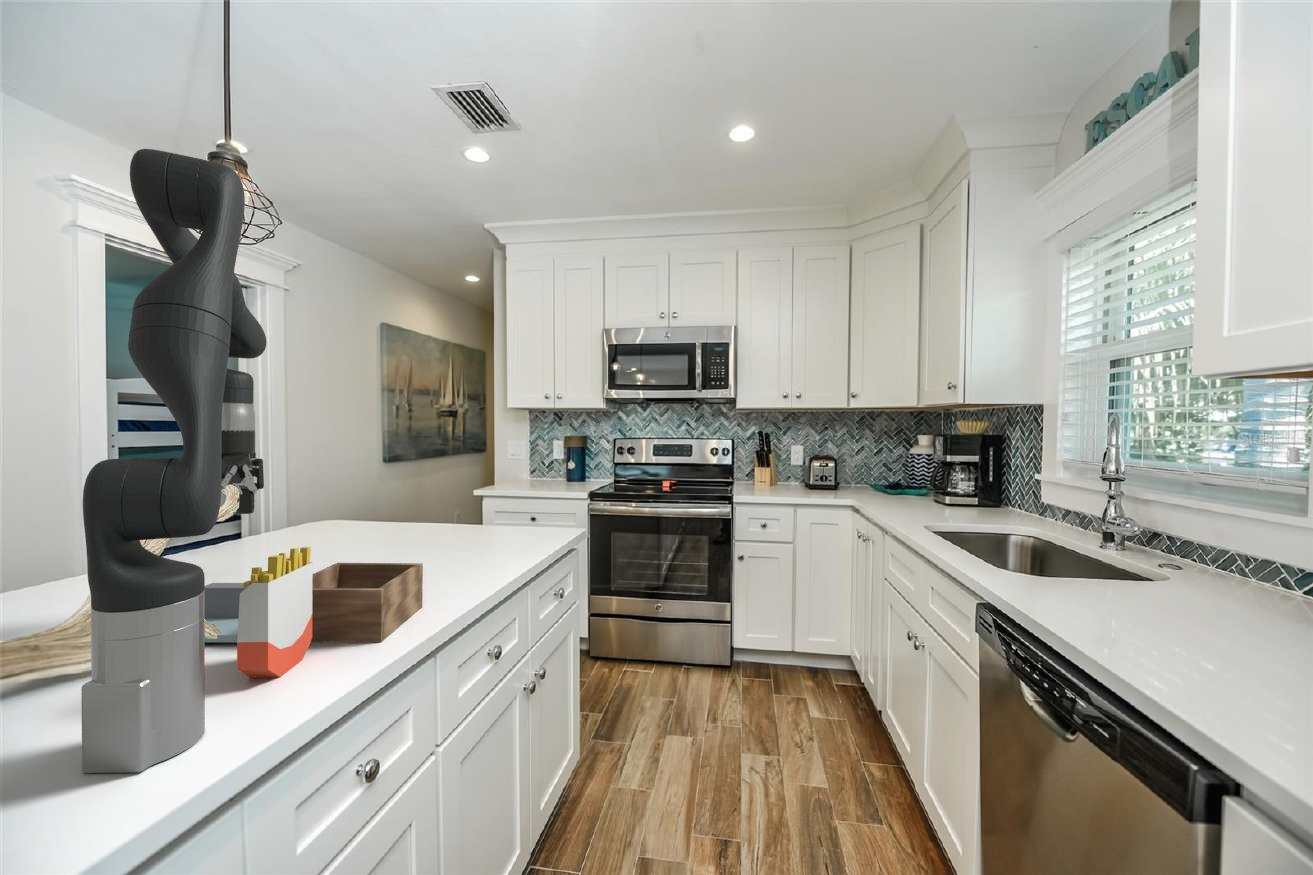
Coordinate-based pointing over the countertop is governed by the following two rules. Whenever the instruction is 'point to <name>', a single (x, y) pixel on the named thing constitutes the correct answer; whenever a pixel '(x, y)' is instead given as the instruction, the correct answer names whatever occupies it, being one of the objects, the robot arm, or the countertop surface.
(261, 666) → the french fries container
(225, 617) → the lid
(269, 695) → the countertop surface
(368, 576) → the wooden box
